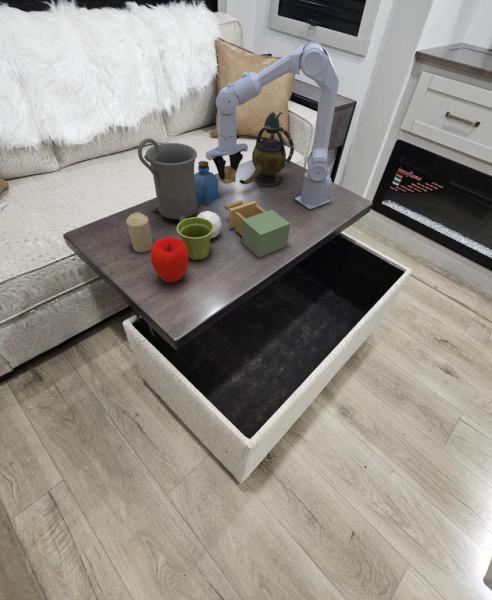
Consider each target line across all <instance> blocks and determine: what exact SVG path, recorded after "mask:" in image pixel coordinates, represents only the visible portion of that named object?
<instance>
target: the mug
mask: <svg viewBox="0 0 492 600" xmlns="http://www.w3.org/2000/svg"><path fill="white" fill-rule="evenodd" d="M148 143H149V144H152V145H153V146H151V147H149V148H147V150H146V151H145V155H144V156H143V148H144V147H145V145H146V144H148ZM137 156H138V159H139V161H140V162H141V163H142V164H143V165H144V166H145V167H146V168H147V169H148V171H150V173H151V174H152V177H153V184H154V189H155V195H156V201H157V202H156V203H155V205H154V207H153V209H151V211H152V213H156V212H157V211H158V213H159V214H160V215H161V216H162V217H165V218H167V219H170V220H178V221H179V223H180V222H181V221H182V220H184V219H187V218H191V217H193V215H194V214H195V213H196V212H197V210H198V206H199V202H198V201H196V190H195V161H196V159H197V157H198V152H197V150H196V149H195V148H194V147H192V146H190V145H188V144H184V143H178V142H165V143H158V142H157V141H156V140H155V139H153V138H151V137H147V138H144V139H143V140H141V142H140V143H139V145H138V147H137Z"/></svg>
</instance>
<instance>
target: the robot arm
mask: <svg viewBox="0 0 492 600" xmlns="http://www.w3.org/2000/svg"><path fill="white" fill-rule="evenodd" d="M300 70H301V71H300ZM300 72H302V73H303V75H304V76H305V77H307V78H309V79H310V80H312V81H314V82H315V83H316V85H317V86H318V87H319V88H320V90H319V98H318V105H317V112H316V120H315V127H314V134H313V136H314V137H313V141H312V146H311V152H310V154H309V155H308V157H307V161H306V163H307V170H306V172H304V175H303V180H302V181H303V182H302V187H301V193H300V195H299V196H296V197H295V198H294V200H295V201H297V202H298V203H299V204H301V205H303V206H304V207H305V208H307V209H308V210H313V209H316V208H319V207H321V206H323V205H327V204H329V203H330V200H329V198H330V193H331V188H332V183H333V182H332V178H331V176H330V174H329V167H328V153H329V152H328V151H329V144H330V137H331V133H332V127H333V126H332V125H333V121H334V114H335V108H336V102H337V97H338V96H337V95H338V91H339V84H340V82H339V81H340V79H339V77H338V74H337V72H336V69H335V67H334V65H333V62H332V60H331V57H330V55H329V52H328V50H327V49H326V48H325V47H324V46H323V45H322V44H321V43H320V42H319V41H315V40H312V41H309V42H308V43H306V44H305V45H304V46H302V45H301V46H299V47H297V48H295V49H293V50H292V51H289V52H288V53H287V54H285V55H284V56H282V57H280V58H279V59H278V60H276V61H275V62H273V63H272V64H270V65H269V66H268V67H266V68H265V69H263V70H262V71H260V72H258V73H255V72H253V71H250V72H247V71H245V72H244V73H242V75H241V77H240V78H239V79H237V80H235V81H234V82H233V83H232V82H229V83H228V84H227V86H225V87H222V89H220V91H219V92H218V94H217V96H216V99H215V107H216V109H217V147H215V148H212V149H210V150H207V151H206V152H205V159H207V160H208V161H213V163H214V164H215V167H216V170H217V173H218V178H219V177H220V178H221V179H224V170H225V166H226V163H227V160H225V159H224V157H225V156H228V157H229V166H231V167H232V168H233V169H235V170H236V173H237V171H238V168H239V165H240V163H241V161H242V160H243V159H244V154H243V153H242V152H245V153H246V152H248V150H249V144H247V143H245V142H243V143H237V138H238V133H237V132H238V131H237V130H238V117H237V107H238V106H243V105H244V104H246V103H248V102H249V101H251V100H253V99H255V98H256V97H258V96H260V95H261V94H262V90H263V87H265V86H267V85H269V84H270V83H272V82H274V81H276V80H278V79H280V78H281V77H283V76H284V75H287V74H294V75H300V74H301V73H300Z"/></svg>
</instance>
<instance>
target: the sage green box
mask: <svg viewBox="0 0 492 600" xmlns="http://www.w3.org/2000/svg"><path fill="white" fill-rule="evenodd" d="M290 228H291V223H290V222H289V221H287V219H285V218H283V216H281V215H280V214H279V213H278V212H275V210H273V209H270V210H267V211H266V212H264V213H261V214H258V215H256V216H253V217H250V218H247V219H244V220H243V229H242V235H241V244H243V245H244V246H245V247H246V248H247V249H248V250H249V251H250V252H251V253H253V255H255V256H256V257H257V258H258V259H260V258H262V257H264V256H266V255H270V254H271V253H273V252H276V251H278V250H281V249H283V248H286V247H288V240H289V234H290Z"/></svg>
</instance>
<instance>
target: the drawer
mask: <svg viewBox="0 0 492 600" xmlns="http://www.w3.org/2000/svg"><path fill="white" fill-rule="evenodd" d="M224 209H225V211H228V227H229V228H230V229H233V228H234V230H235V231H236V232H237V233H238V234H239V235H240V236H242V229H243V220H244V219H247V218H250V217H253V216H256V215H258V214H261V213H264V212H267V211H266V210H265V209H264V208H262V207H261V206H260V205H259V204H257V201H255V200H252V201H248V202H246V203H244V201H243V200H238V201H236V202H235V201H234V202H233V203H229V204H226V205H224Z"/></svg>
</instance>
